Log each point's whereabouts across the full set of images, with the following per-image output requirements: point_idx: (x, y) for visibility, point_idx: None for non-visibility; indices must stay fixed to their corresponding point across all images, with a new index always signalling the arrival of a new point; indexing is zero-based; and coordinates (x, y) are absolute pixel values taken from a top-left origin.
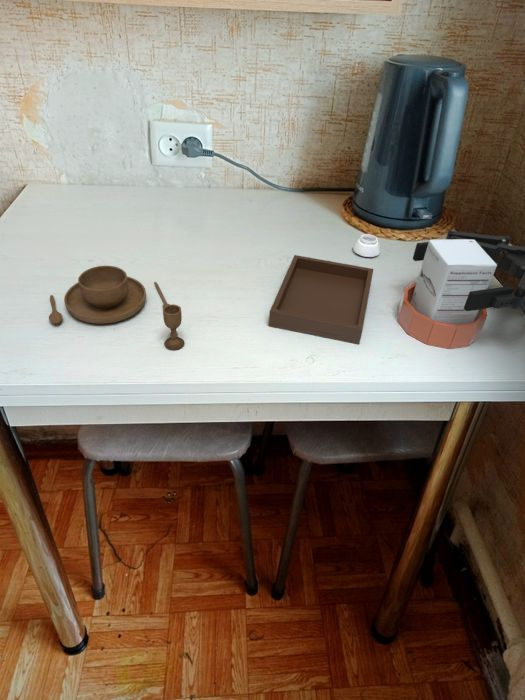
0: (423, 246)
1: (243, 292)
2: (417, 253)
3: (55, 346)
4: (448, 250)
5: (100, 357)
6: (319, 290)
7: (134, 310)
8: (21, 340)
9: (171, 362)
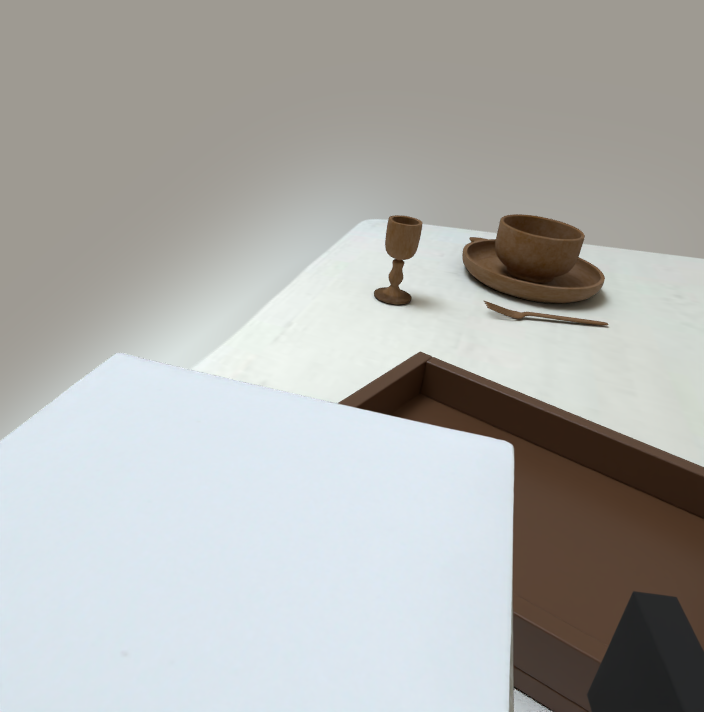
0: (641, 636)
1: (576, 408)
2: (610, 650)
3: (425, 241)
4: (288, 439)
5: (386, 255)
6: (576, 531)
7: (484, 271)
8: (446, 232)
9: (343, 286)
